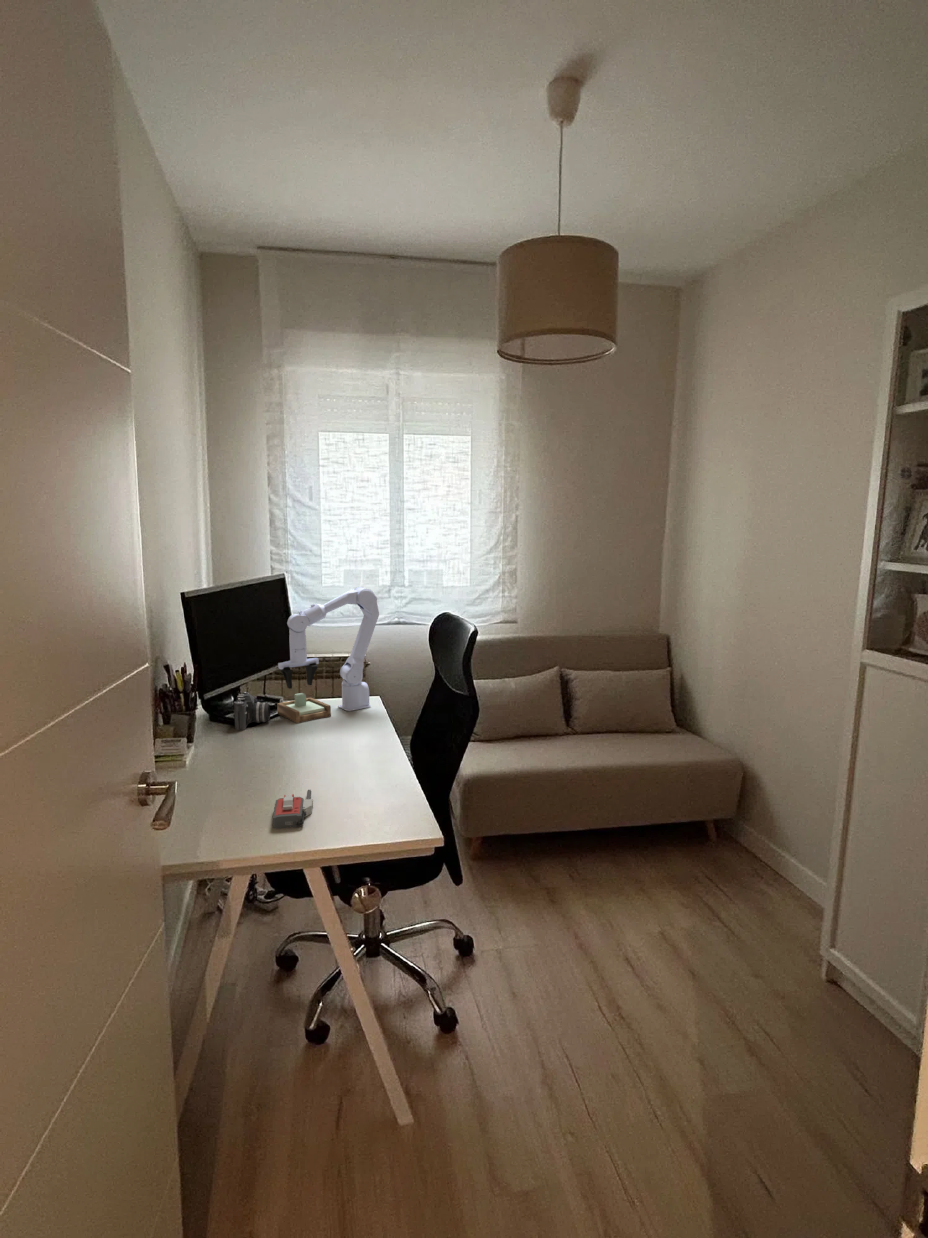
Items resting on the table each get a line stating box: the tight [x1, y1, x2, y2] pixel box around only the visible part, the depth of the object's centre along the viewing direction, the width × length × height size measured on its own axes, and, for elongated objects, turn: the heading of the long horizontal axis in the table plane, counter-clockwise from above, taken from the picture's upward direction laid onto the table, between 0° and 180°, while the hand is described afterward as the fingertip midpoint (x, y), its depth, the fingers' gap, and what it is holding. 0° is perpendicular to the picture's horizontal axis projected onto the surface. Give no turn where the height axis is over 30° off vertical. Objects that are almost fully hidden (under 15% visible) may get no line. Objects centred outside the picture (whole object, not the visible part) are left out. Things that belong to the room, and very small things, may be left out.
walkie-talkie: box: [272, 789, 314, 830], centre depth 169 cm, size 9×4×20 cm
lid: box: [286, 692, 325, 715], centre depth 252 cm, size 10×12×5 cm
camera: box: [233, 691, 271, 731], centre depth 242 cm, size 14×11×10 cm
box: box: [276, 697, 332, 724], centre depth 252 cm, size 13×15×4 cm
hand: (299, 686), depth 253 cm, fingers open, 7 cm apart
